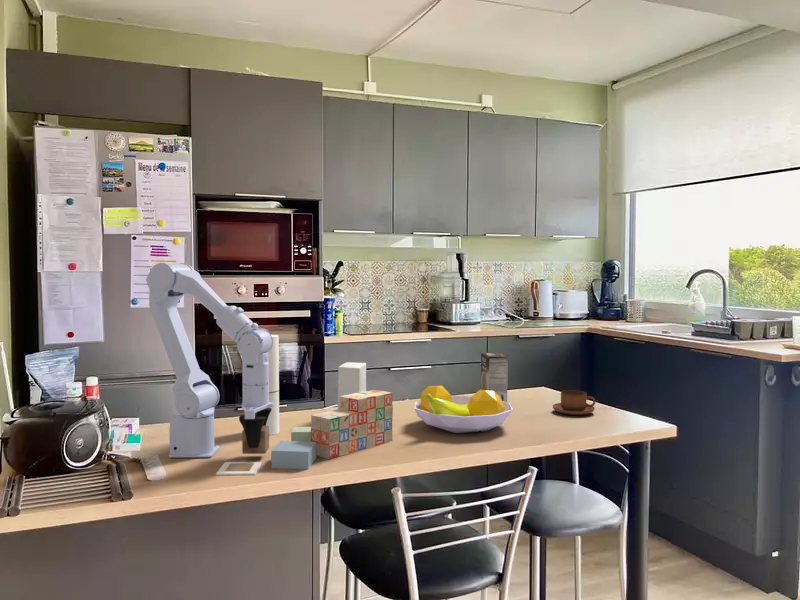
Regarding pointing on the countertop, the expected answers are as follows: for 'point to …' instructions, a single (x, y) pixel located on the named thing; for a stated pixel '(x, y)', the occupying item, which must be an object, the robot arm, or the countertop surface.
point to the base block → (293, 455)
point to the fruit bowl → (462, 410)
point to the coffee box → (494, 373)
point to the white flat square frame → (239, 468)
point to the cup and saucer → (574, 403)
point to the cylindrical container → (274, 386)
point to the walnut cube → (262, 445)
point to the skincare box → (351, 379)
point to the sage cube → (301, 434)
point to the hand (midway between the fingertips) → (255, 444)
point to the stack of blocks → (353, 424)
